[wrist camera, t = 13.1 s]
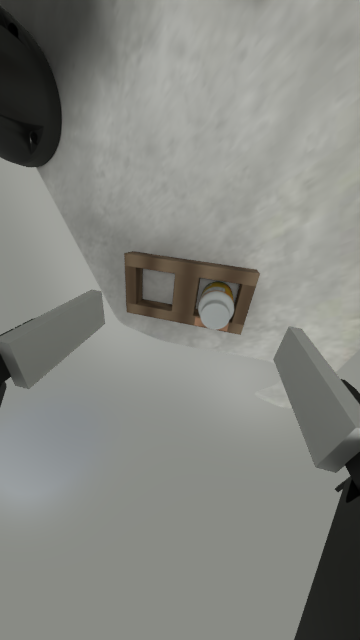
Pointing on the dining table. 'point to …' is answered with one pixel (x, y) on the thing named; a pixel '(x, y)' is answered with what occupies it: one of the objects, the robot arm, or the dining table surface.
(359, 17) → the dining table surface
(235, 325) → the rack
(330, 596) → the robot arm
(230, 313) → the supplement bottle
